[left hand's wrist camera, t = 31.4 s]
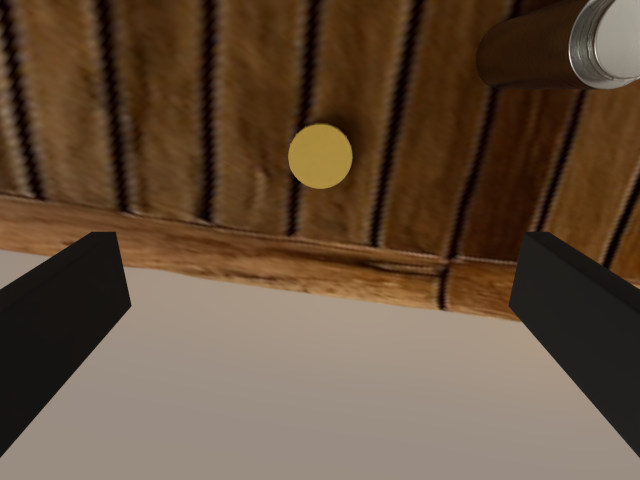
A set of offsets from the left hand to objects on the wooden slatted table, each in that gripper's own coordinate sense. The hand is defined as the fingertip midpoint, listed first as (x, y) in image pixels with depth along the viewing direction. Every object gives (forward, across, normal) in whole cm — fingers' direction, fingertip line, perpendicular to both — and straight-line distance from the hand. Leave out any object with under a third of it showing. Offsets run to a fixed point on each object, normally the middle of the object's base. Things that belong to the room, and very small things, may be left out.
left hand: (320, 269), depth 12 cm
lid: (+24, 0, 0) cm, 25 cm away
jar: (+26, +16, +8) cm, 32 cm away
